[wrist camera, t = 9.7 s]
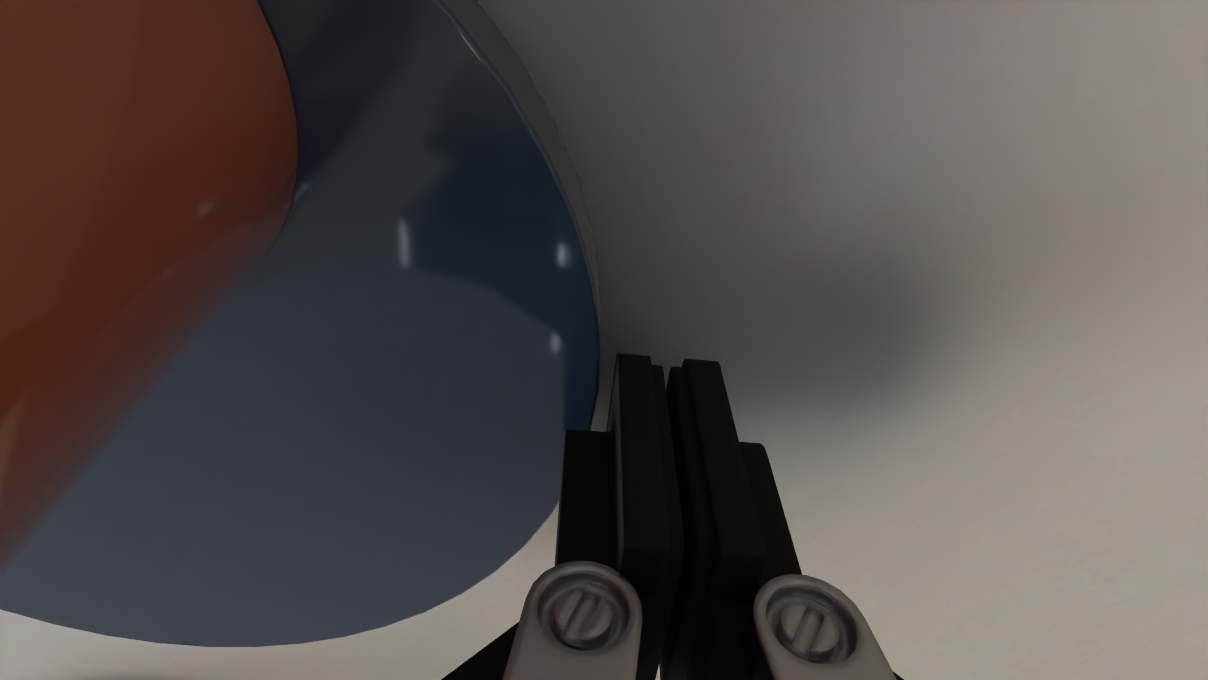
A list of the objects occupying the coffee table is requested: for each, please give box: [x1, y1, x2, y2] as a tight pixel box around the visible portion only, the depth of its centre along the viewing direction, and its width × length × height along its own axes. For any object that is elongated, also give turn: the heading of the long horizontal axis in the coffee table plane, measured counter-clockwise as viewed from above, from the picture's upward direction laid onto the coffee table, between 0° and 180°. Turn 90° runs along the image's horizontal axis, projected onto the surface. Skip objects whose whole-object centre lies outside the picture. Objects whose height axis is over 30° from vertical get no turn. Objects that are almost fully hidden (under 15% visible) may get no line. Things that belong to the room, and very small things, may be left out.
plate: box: [0, 0, 601, 647], centre depth 11 cm, size 15×15×2 cm
